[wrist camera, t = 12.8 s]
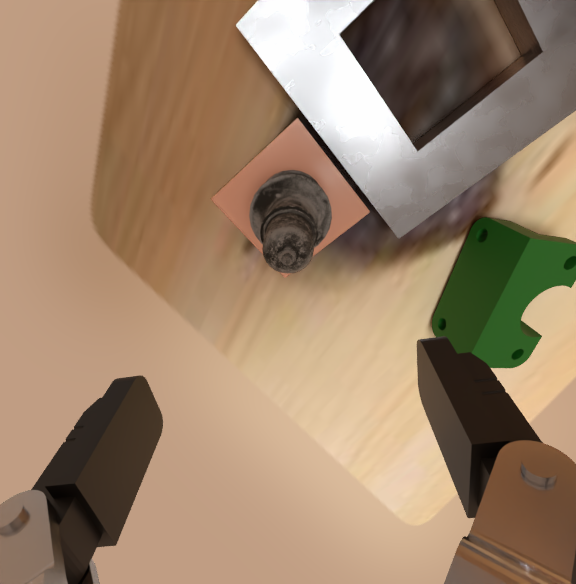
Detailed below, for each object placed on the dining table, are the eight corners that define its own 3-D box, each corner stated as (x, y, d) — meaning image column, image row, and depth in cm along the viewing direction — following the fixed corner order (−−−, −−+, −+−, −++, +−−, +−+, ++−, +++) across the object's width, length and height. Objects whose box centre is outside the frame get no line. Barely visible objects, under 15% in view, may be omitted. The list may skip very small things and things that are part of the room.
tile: (297, 117, 28) (297, 117, 27) (368, 210, 31) (370, 211, 30) (212, 197, 31) (210, 199, 30) (285, 275, 34) (285, 277, 33)
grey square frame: (488, -239, 20) (511, -281, 18) (614, 63, 26) (644, 60, 24) (240, 31, 26) (235, 25, 23) (391, 228, 32) (398, 238, 29)
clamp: (467, 295, 39) (508, 377, 34) (416, 291, 38) (451, 377, 32) (559, 204, 30) (636, 295, 25) (499, 194, 29) (566, 289, 23)
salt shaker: (326, 240, 32) (339, 313, 21) (255, 238, 32) (232, 310, 21) (331, 166, 29) (349, 207, 18) (253, 164, 29) (226, 203, 18)
